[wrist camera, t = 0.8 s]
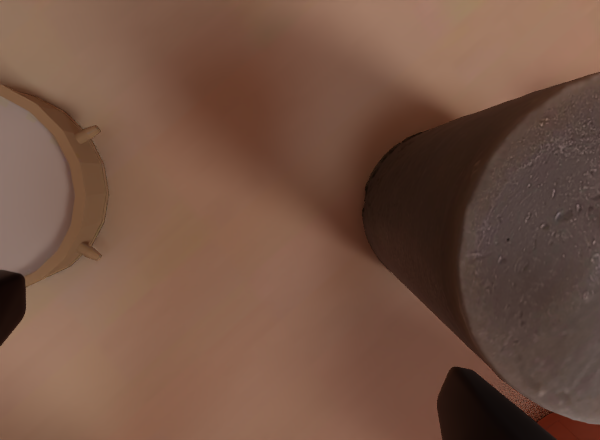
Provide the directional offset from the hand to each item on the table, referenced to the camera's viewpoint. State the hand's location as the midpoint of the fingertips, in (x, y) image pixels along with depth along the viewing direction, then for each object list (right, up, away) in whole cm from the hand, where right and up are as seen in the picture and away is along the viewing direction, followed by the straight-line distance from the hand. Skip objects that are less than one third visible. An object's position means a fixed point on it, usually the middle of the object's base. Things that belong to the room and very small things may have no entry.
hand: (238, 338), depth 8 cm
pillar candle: (+10, +3, +16) cm, 19 cm away
